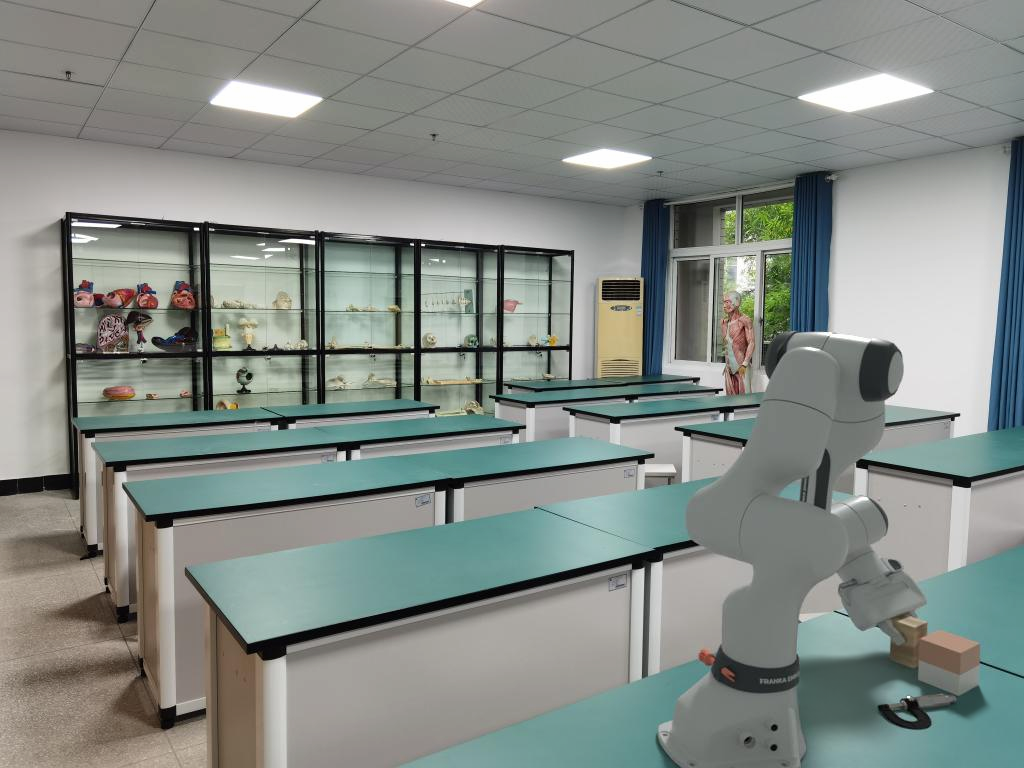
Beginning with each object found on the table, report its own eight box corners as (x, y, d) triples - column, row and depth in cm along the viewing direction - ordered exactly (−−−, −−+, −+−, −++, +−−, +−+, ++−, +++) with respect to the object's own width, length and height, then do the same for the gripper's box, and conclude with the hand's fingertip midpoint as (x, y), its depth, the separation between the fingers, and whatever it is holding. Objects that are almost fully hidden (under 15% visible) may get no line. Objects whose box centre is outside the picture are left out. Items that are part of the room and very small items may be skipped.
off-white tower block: (958, 697, 125) (959, 674, 125) (917, 680, 131) (918, 659, 130) (978, 686, 129) (979, 664, 128) (937, 670, 134) (938, 650, 134)
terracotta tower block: (959, 675, 124) (960, 653, 124) (918, 659, 130) (919, 638, 130) (979, 664, 128) (980, 643, 128) (938, 650, 134) (939, 629, 134)
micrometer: (903, 734, 114) (903, 719, 114) (872, 711, 121) (872, 696, 121) (983, 723, 117) (983, 709, 117) (948, 701, 124) (949, 687, 124)
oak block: (912, 668, 135) (914, 627, 134) (889, 659, 139) (891, 619, 138) (926, 662, 137) (927, 622, 137) (902, 653, 141) (904, 614, 140)
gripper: (844, 577, 137) (892, 645, 130) (904, 559, 148) (952, 621, 140) (823, 593, 141) (868, 660, 134) (883, 573, 152) (928, 635, 144)
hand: (911, 640), depth 137 cm, fingers closed on oak block, 4 cm apart
